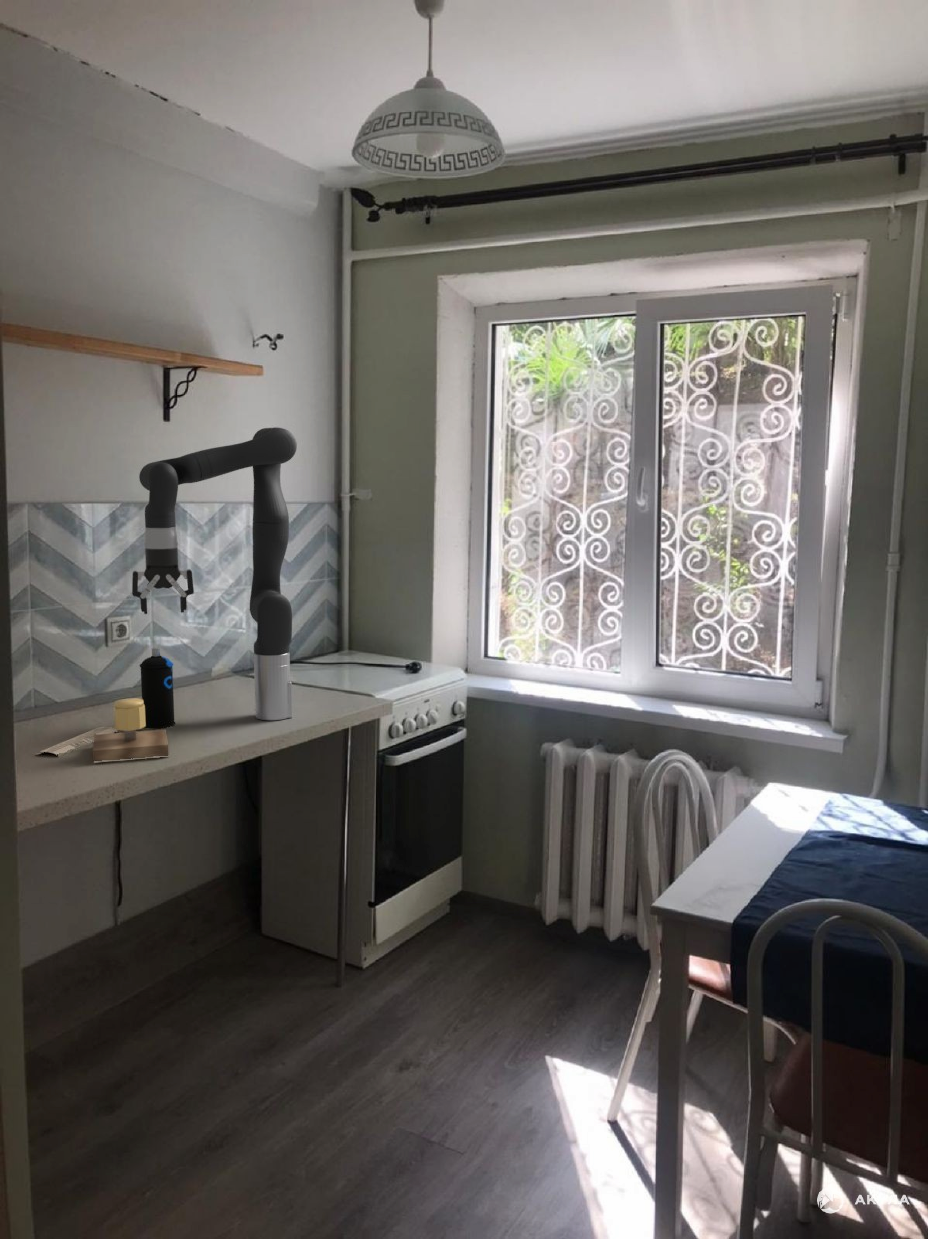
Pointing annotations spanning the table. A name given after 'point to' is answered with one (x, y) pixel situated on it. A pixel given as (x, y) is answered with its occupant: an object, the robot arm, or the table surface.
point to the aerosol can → (157, 691)
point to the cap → (129, 714)
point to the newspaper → (79, 740)
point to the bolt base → (130, 745)
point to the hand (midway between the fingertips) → (164, 612)
